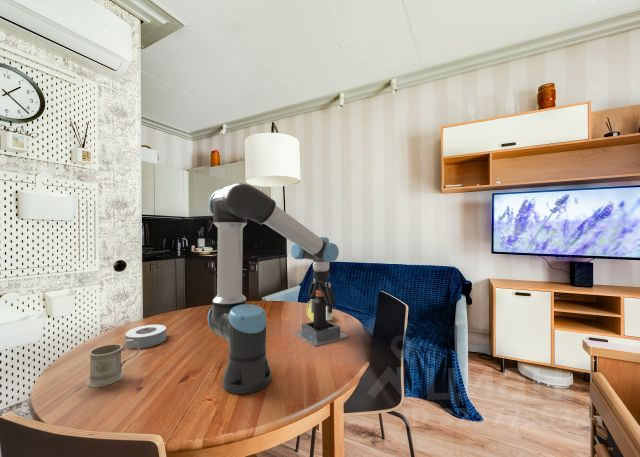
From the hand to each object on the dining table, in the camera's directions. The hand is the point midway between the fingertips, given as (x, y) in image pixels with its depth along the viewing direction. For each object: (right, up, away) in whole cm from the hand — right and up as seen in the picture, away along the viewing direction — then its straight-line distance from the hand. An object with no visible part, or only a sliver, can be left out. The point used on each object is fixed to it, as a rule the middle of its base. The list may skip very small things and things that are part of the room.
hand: (320, 316), depth 131 cm
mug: (-68, -9, -38) cm, 79 cm away
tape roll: (-77, -9, -8) cm, 78 cm away
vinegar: (0, -8, 0) cm, 8 cm away
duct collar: (0, -9, 0) cm, 9 cm away
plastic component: (-1, -10, +27) cm, 29 cm away
